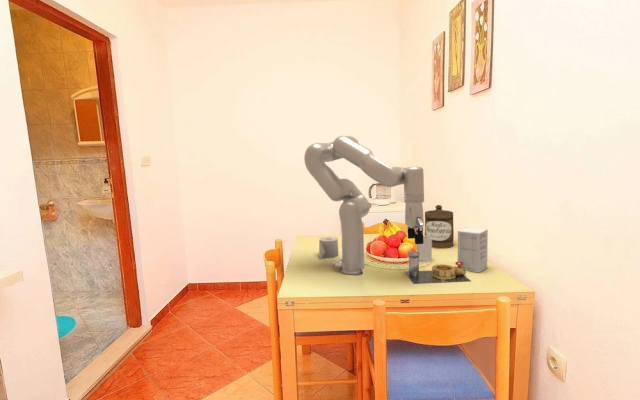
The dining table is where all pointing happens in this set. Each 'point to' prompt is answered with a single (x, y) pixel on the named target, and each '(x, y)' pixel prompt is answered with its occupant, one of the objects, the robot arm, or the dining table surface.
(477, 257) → the supplement box
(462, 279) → the fitting board
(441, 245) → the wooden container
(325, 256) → the toilet tissue
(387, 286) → the dining table surface
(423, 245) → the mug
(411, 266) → the pipe stub
